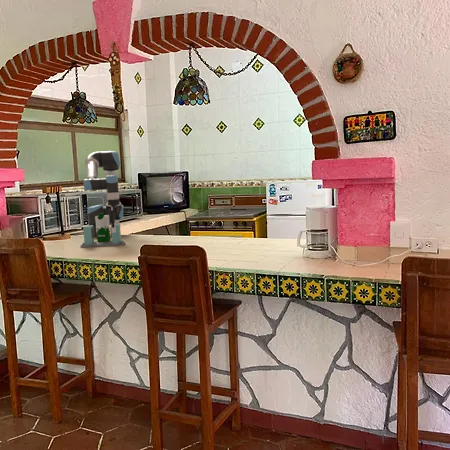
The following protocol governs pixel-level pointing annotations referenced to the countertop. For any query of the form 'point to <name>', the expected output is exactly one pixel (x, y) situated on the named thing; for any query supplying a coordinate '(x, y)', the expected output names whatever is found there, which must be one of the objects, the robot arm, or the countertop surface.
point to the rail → (103, 244)
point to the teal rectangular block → (88, 235)
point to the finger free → (116, 234)
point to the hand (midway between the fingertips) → (115, 231)
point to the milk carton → (102, 227)
